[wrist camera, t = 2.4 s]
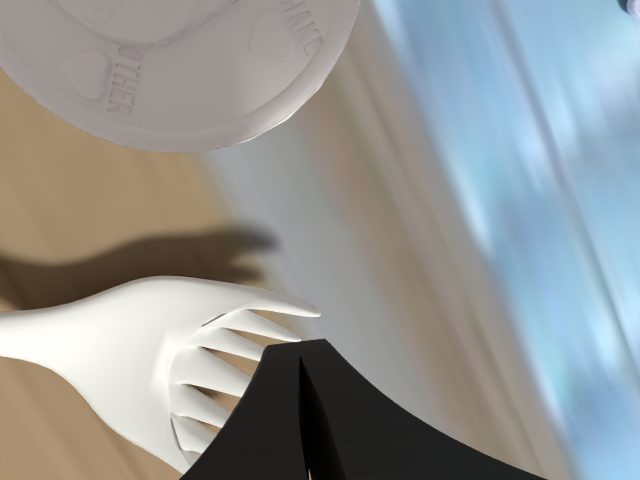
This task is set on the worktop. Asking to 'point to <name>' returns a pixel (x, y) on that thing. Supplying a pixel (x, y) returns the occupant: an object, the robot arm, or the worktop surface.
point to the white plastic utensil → (153, 354)
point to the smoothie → (173, 64)
